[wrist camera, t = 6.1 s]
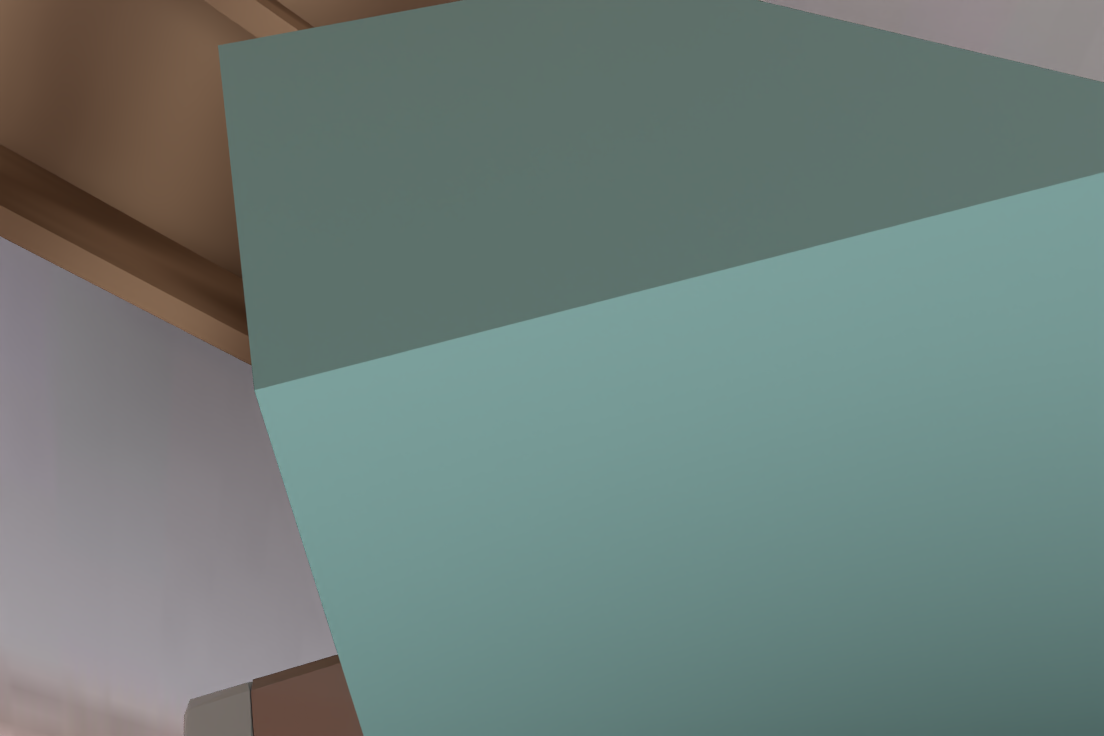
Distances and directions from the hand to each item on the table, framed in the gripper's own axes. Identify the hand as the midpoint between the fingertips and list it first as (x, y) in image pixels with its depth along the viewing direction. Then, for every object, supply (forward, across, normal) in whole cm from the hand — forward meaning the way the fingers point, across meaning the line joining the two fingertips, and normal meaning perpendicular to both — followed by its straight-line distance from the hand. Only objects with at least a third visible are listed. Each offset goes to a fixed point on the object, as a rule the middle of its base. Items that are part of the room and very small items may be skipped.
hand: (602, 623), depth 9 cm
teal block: (+3, 0, 0) cm, 3 cm away
